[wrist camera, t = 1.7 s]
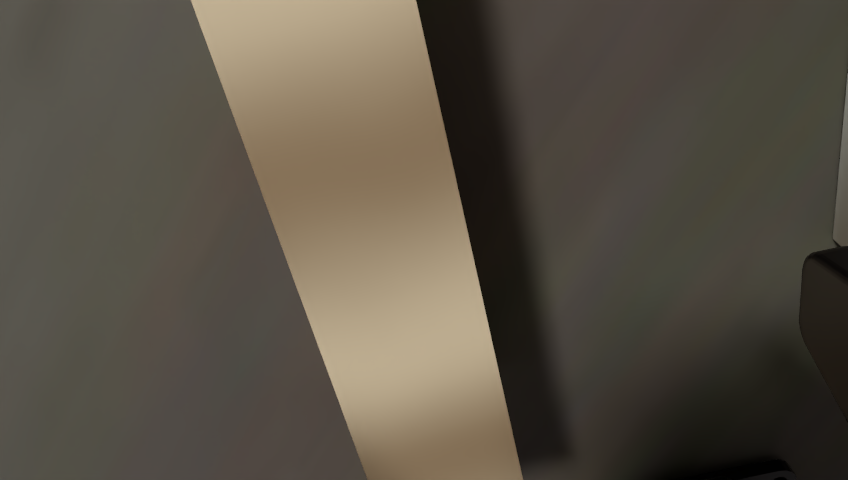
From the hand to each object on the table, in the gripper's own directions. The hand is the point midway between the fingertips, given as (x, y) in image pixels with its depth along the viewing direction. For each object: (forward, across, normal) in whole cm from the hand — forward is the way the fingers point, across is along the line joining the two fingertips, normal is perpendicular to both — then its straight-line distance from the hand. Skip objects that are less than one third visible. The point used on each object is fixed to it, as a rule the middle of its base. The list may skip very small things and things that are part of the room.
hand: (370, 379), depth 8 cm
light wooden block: (+9, 0, 0) cm, 9 cm away
